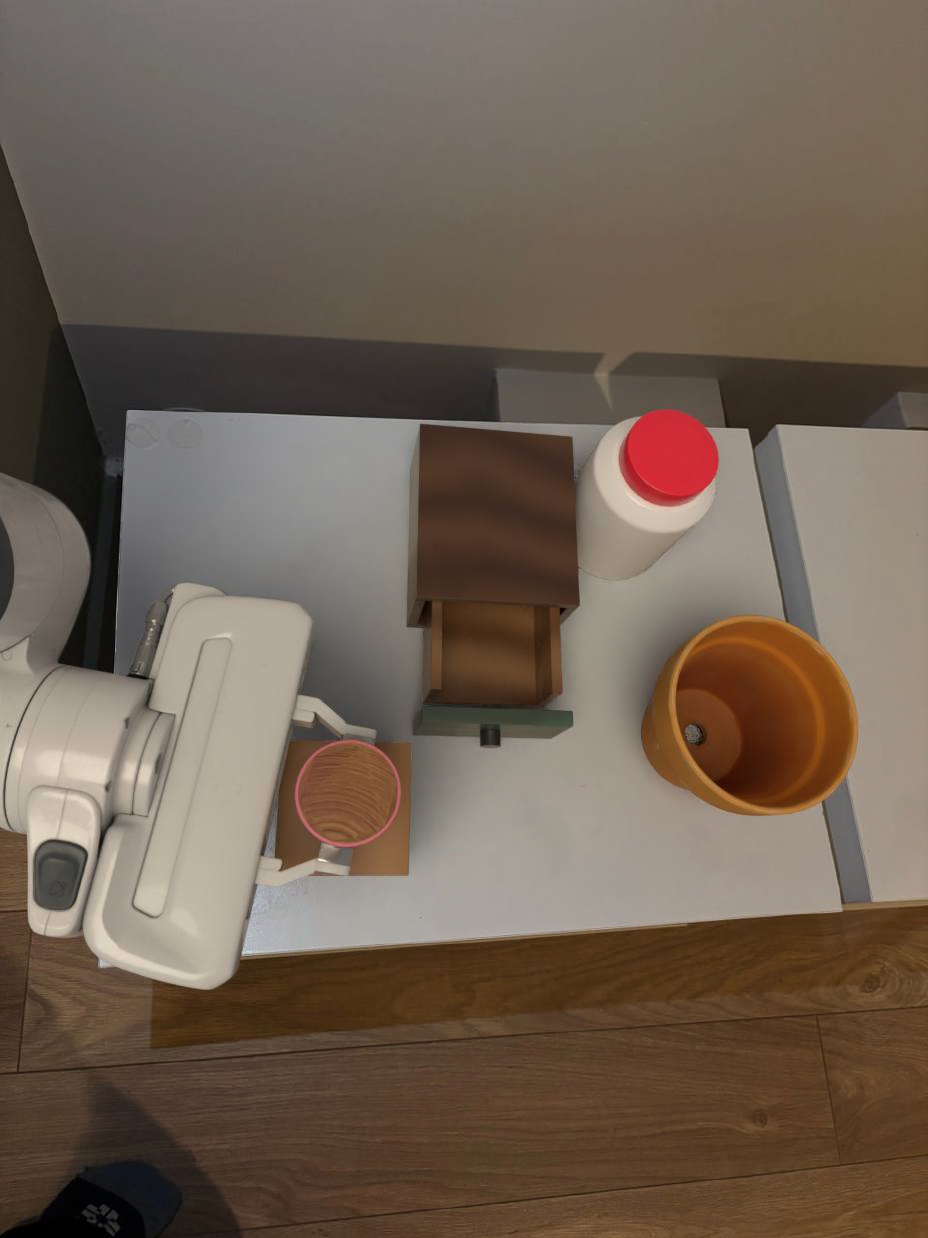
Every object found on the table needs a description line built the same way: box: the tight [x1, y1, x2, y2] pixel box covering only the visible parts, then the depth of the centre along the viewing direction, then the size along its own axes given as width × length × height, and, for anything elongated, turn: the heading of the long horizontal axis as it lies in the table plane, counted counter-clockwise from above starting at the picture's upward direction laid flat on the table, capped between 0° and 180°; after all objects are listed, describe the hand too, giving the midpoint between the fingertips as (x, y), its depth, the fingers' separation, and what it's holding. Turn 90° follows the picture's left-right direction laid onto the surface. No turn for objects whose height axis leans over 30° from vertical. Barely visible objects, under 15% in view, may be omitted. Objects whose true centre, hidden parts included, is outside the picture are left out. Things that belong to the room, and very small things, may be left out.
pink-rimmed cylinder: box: [295, 739, 401, 848], centre depth 44 cm, size 5×5×10 cm
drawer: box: [412, 601, 574, 749], centre depth 64 cm, size 15×11×6 cm
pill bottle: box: [574, 408, 720, 581], centre depth 67 cm, size 10×10×14 cm
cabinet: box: [406, 423, 581, 629], centre depth 67 cm, size 15×13×8 cm
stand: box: [273, 739, 413, 877], centre depth 56 cm, size 8×8×14 cm
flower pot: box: [640, 614, 859, 817], centre depth 63 cm, size 14×14×13 cm
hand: (362, 803), depth 44 cm, fingers closed on pink-rimmed cylinder, 5 cm apart
